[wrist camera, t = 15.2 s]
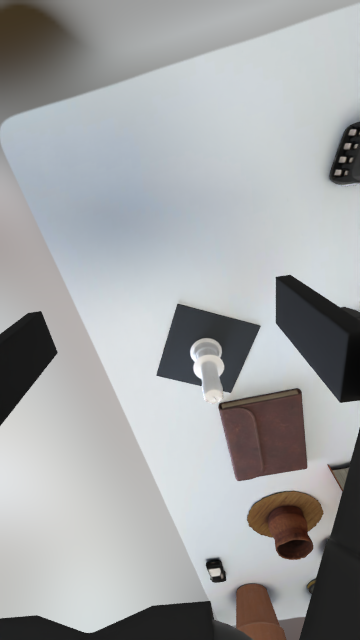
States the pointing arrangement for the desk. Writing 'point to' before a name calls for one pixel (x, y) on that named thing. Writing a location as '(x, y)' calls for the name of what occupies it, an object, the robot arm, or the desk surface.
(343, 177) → the battery charger
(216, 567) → the toy car
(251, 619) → the potted plant
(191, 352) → the candle
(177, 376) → the mat
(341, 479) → the book
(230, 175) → the desk surface
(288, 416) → the notebook
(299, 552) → the ceramic pot
